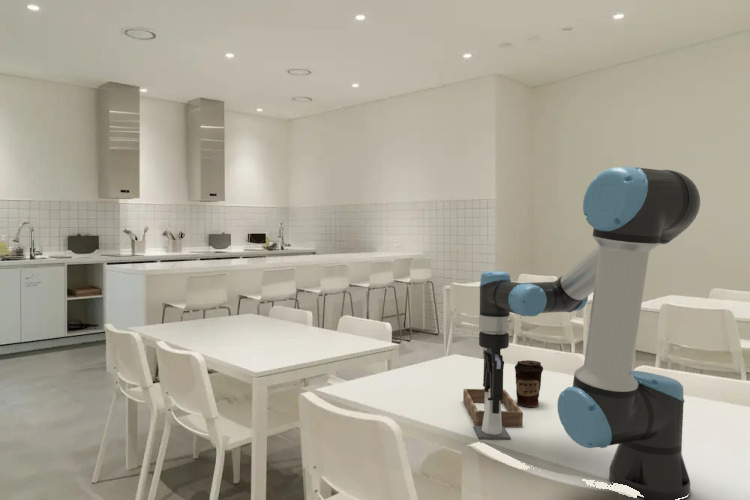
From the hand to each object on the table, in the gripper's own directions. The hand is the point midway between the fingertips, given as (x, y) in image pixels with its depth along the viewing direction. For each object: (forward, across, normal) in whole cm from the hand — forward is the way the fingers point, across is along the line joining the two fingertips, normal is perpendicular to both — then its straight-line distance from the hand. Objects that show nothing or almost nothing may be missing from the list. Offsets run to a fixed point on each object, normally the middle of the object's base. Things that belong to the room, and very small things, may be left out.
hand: (491, 420), depth 144 cm
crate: (+3, +16, -3) cm, 17 cm away
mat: (+3, 0, 0) cm, 3 cm away
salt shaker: (+3, 0, 0) cm, 3 cm away
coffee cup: (+4, +25, -16) cm, 30 cm away
